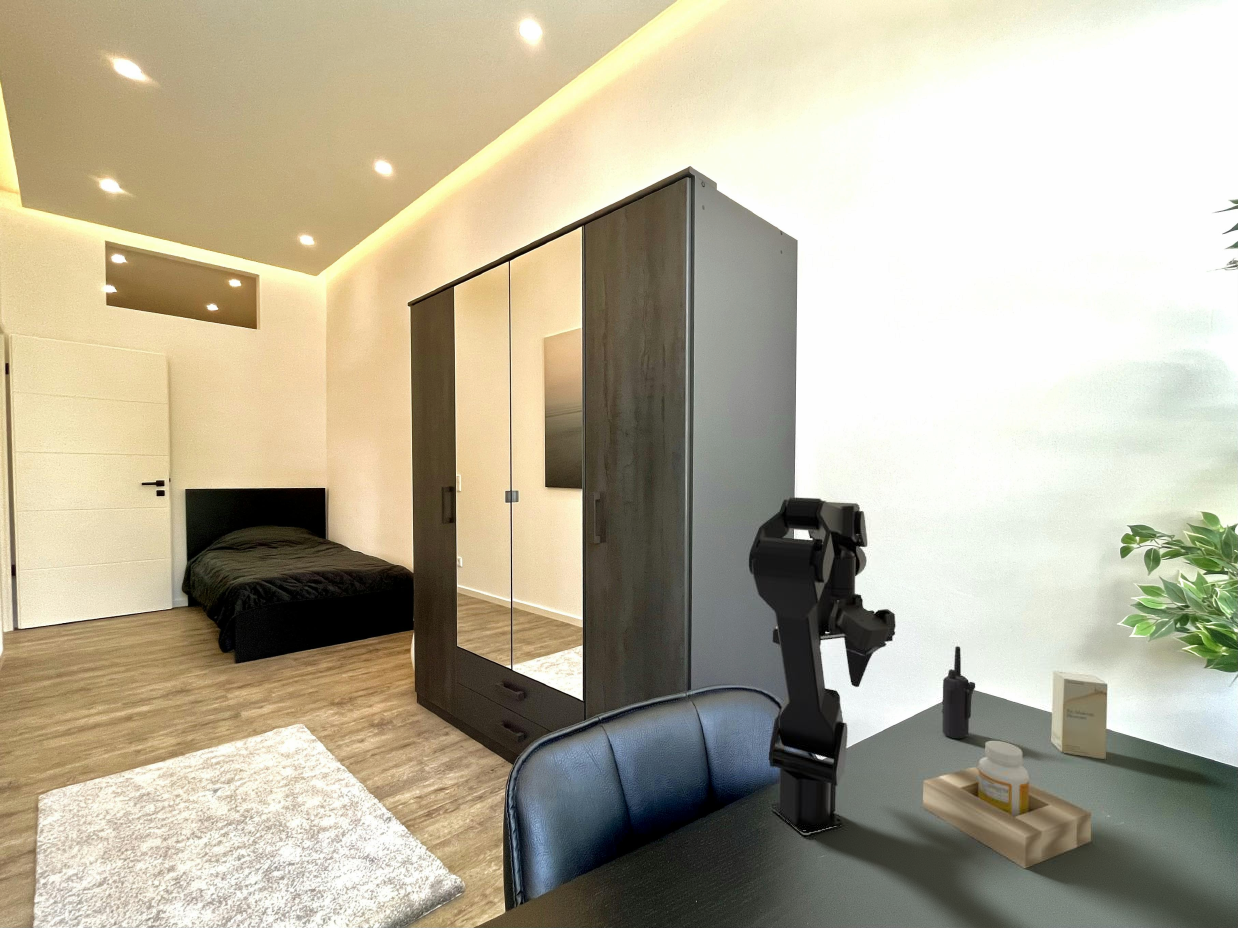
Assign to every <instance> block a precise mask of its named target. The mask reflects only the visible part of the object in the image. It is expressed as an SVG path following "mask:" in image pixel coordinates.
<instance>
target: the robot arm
mask: <svg viewBox="0 0 1238 928" xmlns="http://www.w3.org/2000/svg"><path fill="white" fill-rule="evenodd" d="M782 501H783V502H782V504H781V506H780V509H779V511H778V512H777V513H776V514H774V515H773V516H772V517H770V518H769V519H768V520H766V521H765V522H764V523H763V524H761V525H760V526H759V528H758V530H757V532H756V535H755V537H754V540H753V542H752V545H751V548H750V550H749V554H748V555H749V556H748V569H749V572H750V574H751V575H752V577H753V580H754V585H755V588H756V592H757V595H758V596H759V597H760V598H761V599H762V601H764V602H765V604H767V606H768V607H770V609H772V611H773V613H774V614H775V621H776V625H775V626H774V627H773V628H772V643H774V644H777V645H779V646H778V647H780V652H781V660H782V665H783V666H782V667H783V673H784V680H785V685H786V696H785V698H784V702H783V704H782V706H781V708H780V709H779V711H778V714H777V717H775V718H774V723H773V727H772V732H771V736H770V744H769V752H768V761H769V767H772V768H777V769H779V791H778V792H779V793H778V794H779V797H778V798H779V800H778V801H779V802H775V803H772V804H770V808H771V807H772V808H773V809H775V810H776V811H777V812H778V813H779V814H780V815H781V816H782V817H783V818H784V819H785V820H787V821H788V822H789V823H790V824H792V825H793V826H794V827H796V828H797V829H798V830H799V831H801V832H803V833H809V832H814V831H818V830H822V829H826V828H829V827H834V826H839V827H841V826H840V825H842V824H844V821H843V819H842V818H840V817H839V816H838V815H836V814H835V812H836V792H837V791H836V789H837V786H839V784H840V782H841V779H842V777H843V775H844V773H845V767H846V756H847V755H846V754H847V747H848V746H847V745H848V725H847V724H848V723H847V722H844V718H843V711H842V707H841V696H840V693H839V692H838V691H837V690H835V689H830V688H826V686H825V685H826V684H825V676H824V668H823V661H822V660H823V659H822V651H821V646H822V643H821V642H822V641H826V640H834V639H835V640H836V639H843V640H844V646H845V653H846V659H847V667H848V675H849V678H850V679H849V680H850V684H851V686H853V687H855V688H859V687H860V685H861V682H862V680H863V677H864V674H865V672H866V670H867V667H868V664H869V662H870V660H871V658H872V656H873V654H874V653H875V652H877V651H878V650H880V649H881V648H884V647H886V646H887V643H888V642H893V637H894V636H895V635H896V631H895V629H896V626H897V625H896V614H895V613H894V612H893V611H891V610H890V609H889V608H885V609H884V608H882V609H878V610H876V612H875V611H874V610H867V609H866V608H864V602H863V597H862V595H861V594H858V593H856V577H858V576H859V574H861V573H862V572H863V571H864V570H865V569H866V566H867V556H866V553H865V552H864V549H863V548H867V547H868V535H867V526H866V516H865V512H864V511H861V510H860V505H859V503H855V502H835V501H832V502H831V501H827V500H822V499H821V498H817V497H816V498H814V497H813V498H812V497H797V496H796V497H793V496H791V497H789V498H784V500H782ZM789 530H794V531H795V530H796V531H797V530H798V531H799V530H800V531H807V532H808V535H809V539H801V538H790V537H785V536H787V534H789V532H790V531H789ZM785 747H786V748H791V749H794V750H797V751H801V752H804V753H808V754H813V755H816V756H819V757H824V758H827V759H832V760H833V762H832V761H828V760H825V759H821V758H818V757H814V756H809V755H807V754H803V753H798V752H795V751H792V750H789V749H786V748H785ZM774 805H775V806H777V807H773V806H774ZM785 820H784V821H785ZM842 826H843V825H842ZM803 830H806V831H803Z"/></svg>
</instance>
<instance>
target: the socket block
mask: <svg viewBox="0 0 1238 928" xmlns="http://www.w3.org/2000/svg"><path fill="white" fill-rule="evenodd" d="M978 785H979V765H977V766H973V767H969V768H965V769H963V770H962V769H961V770H959V771H955V772H951V773H948V774H943V775H940V776H936V777H933V778H928V779H925V780H923V786H922V787H923V790H922V791H923V793H922V797H923V799H922V808H923V807H924V808H923V809H925V810H926V811H928V812H930V813H931V814H933V815H934V816H936V817H938V818H940V819H942V820H943V821H945V822H947V823H948V824H950V825H951V826H954V827H955V828H957V829H958V830H960V831H962V832H964V833H965V834H967V835H968V836H970V837H972V838H974V839H975V840H977V841H979V842H981V844H984V845H985V846H987V847H989V848H991V849H992V850H994V851H995V852H997V853H998V854H1001V856H1004V857H1006V859H1009V860H1010V861H1012V862H1013V863H1015V864H1017V865H1018V866H1021V867H1022V868H1023V869H1027V868H1029V867H1031V866H1034V865H1036V864H1039V863H1041V862H1044V861H1046V860H1050V859H1051V858H1052V859H1053V858H1054V857H1057V856H1059V855H1061V854H1064V853H1066V852H1069V851H1071V850H1074V849H1076V848H1079V847H1081V846H1083V845H1085V844H1089V843H1090V842H1092V812H1091V811H1088V810H1087V809H1084V808H1082V807H1081V806H1078V805H1076V804H1074V803H1071V802H1069V801H1067V800H1065V799H1063V798H1061V797H1060V796H1057V795H1055V794H1052V793H1050V792H1048V791H1046V790H1044V789H1041V788H1039V787H1037V786H1035V785H1033V784H1031V783H1029V801H1028V813H1025V814H1022V815H1019V816H1016V817H1014V816H1012V815H1010V814H1008V813H1006V812H1004V811H1003V810H1001V809H999V808H997V807H995V806H993V805H991V804H989V803H987V802H986V801H984V800H982V799H980V798H978Z"/></svg>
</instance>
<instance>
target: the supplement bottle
mask: <svg viewBox="0 0 1238 928" xmlns="http://www.w3.org/2000/svg"><path fill="white" fill-rule="evenodd" d="M984 746H985V747H984V748H985V749H984V755H985V756H984V757H982V758H981V759H979V762H978V766H979V785H978V798H980V799H982V800H984V801H986V802H987V803H989V804H991V805H993V806H995V807H997V808H999V809H1001V810H1003V811H1004V812H1006V813H1008V814H1010V815H1012V816H1014V817H1016V816H1019V815H1022V814H1025V813H1028V801H1029V784H1030V783H1029V781H1030V779H1029V773H1028V771H1027V769H1026V768H1025V767H1024V766H1022V764H1023V761H1024V760H1023V751H1022V749H1021V748H1020V747H1018V746H1016V745H1014V744H1011V743H1008V742H1005V741H1000V740H989V741H986V742H985V745H984Z"/></svg>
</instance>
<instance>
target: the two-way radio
mask: <svg viewBox="0 0 1238 928" xmlns="http://www.w3.org/2000/svg"><path fill="white" fill-rule="evenodd" d="M961 655H962V654H961V646H955V648H954V665H953V667H954V668H953V669H949V670H948V672H947V673H948V675H947V676H945V677H944V678H943V681H942V701H941V702H942V703H941V704H942V710H941V712H942V733H943V735H944V736H946V737H949V738H952V739H955V740H957V739H963V738H966V737H967V736H968V735H969V731H970V730H969V726H970V725H969V720H970V718H971V717H972V715H971V714H972V713H971V712H972V698H973V693H974V690H975V689H976V682H973V681H969V679H967V678H966V676H964V675H962V674H961V673H962V669H961V668H962V667H961V666H962V665H961V664H962V663H961V661H962V660H961V659H962V658H961Z"/></svg>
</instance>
